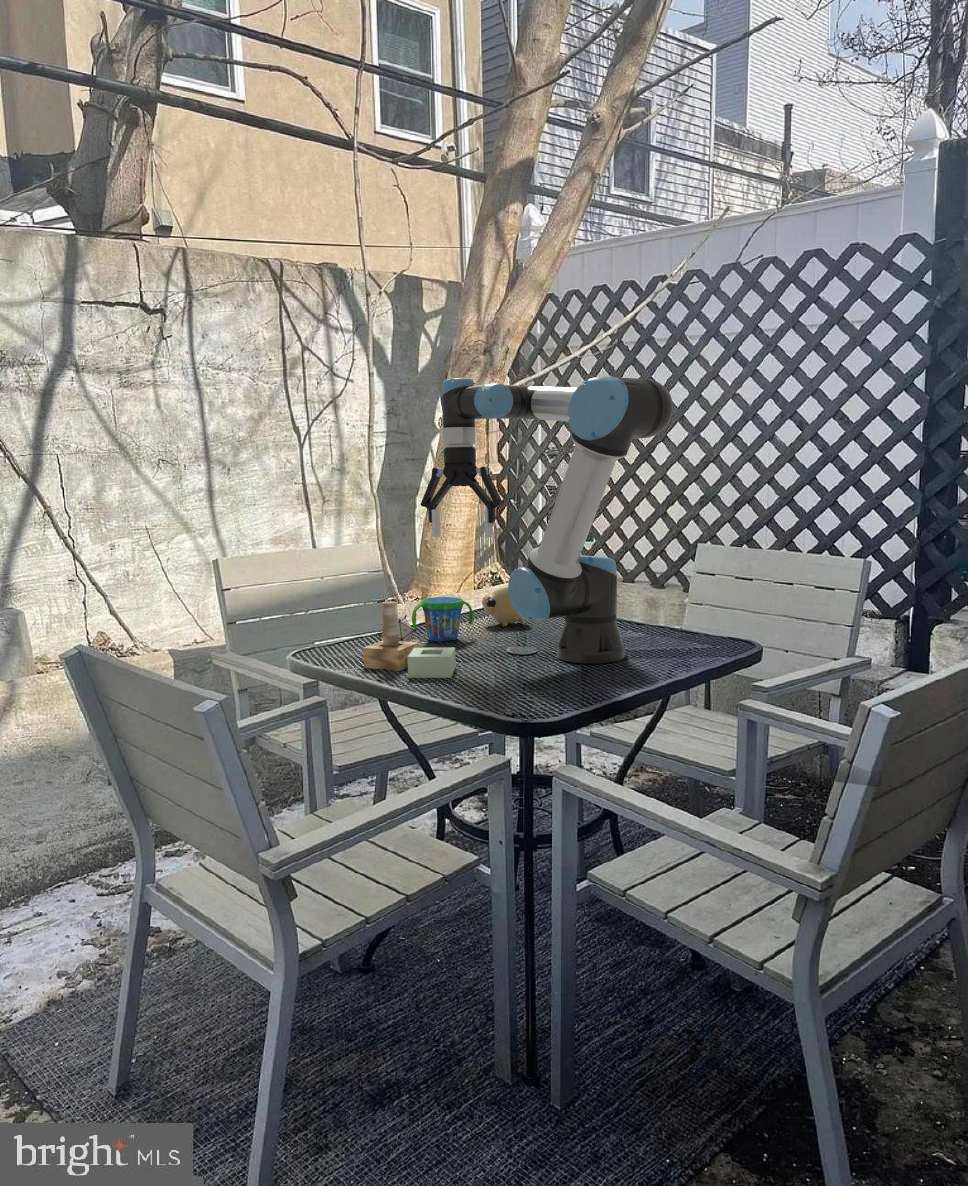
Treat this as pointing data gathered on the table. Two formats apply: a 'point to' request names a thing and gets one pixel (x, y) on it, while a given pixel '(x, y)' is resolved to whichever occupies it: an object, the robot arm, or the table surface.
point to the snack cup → (442, 617)
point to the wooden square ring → (388, 655)
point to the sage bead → (431, 663)
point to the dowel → (390, 624)
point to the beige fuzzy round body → (501, 607)
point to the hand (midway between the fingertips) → (462, 537)
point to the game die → (404, 630)
